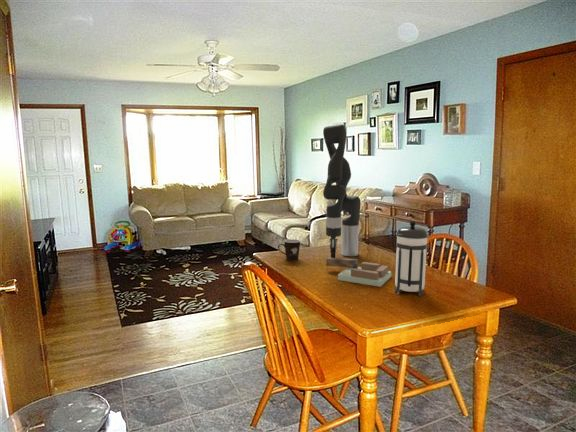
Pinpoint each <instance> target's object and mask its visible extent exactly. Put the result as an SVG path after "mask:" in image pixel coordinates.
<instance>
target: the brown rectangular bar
mask: <svg viewBox="0 0 576 432" xmlns="http://www.w3.org/2000/svg"><path fill="white" fill-rule="evenodd" d="M325 265H326V266H327V267H338V268H339V267H341V268H348V267H352V268H357V267H359V259H358V258H344V257H335V258H331V256H329V257H326V260H325Z"/></svg>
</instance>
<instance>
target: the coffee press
mask: <svg viewBox="0 0 576 432" xmlns="http://www.w3.org/2000/svg"><path fill="white" fill-rule="evenodd" d="M409 225H410V226H409ZM409 225H408V226H401V227H400V228H399V229H397V231H396V233H395V235H396V244H395V247H396V253H395V254H396V255H395V256H396V257H395V274H394V275H395V276H394V277H395V278H394V279H395V281H394V285H395V286H394V287H396V288H395V290H394V294H396V295H399V294H401V293H402V291H403V292H409V293H412V292H413V293H414V292H415V293H417V295H418V296H419V297H423V296H424V294H425V293H424V291H423V290H424V289H425V286H426V285H425V284H426V283H425V282H426V269H427V252H428V251H427V250H428V238H429V234H428V231H427V230H426V229H425V228H423V227H419V226H416V222H415V221H413V220H412V221H410V222H409Z"/></svg>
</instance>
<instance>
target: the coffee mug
mask: <svg viewBox="0 0 576 432" xmlns="http://www.w3.org/2000/svg"><path fill="white" fill-rule="evenodd" d="M281 246H283V247H284V250H285V252H283V251H282V250H281V249H280V247H281ZM300 247H301V240H300V239H293V238H289V239H285V240H284V243H280V244H279V245H278V246H277V250H278V251H279V252H280V253H282V254H284V256H285V259H286V260H287V261H290V262H291V261H298V260H299V254H300Z"/></svg>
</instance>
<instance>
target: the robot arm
mask: <svg viewBox="0 0 576 432" xmlns="http://www.w3.org/2000/svg"><path fill="white" fill-rule="evenodd" d="M322 132H323V134H322V135H323V139H324V143H325V146H326V149H327V151H328V156H329V158H330V159H329V162H328V164H327V165H328V166H327V178H326V181H325V182H326V183H325V185H324V188H323V191H322V195H323V197H324V199H325V200H329V201H330V200H331V201H332V200H333V201H336V202H335V203H332V204H331V203H330V204H328V205H327V206H326V219H325V235H326V236H327V237H329V241H328V243H329V249H330V250H329V251H330V257H331V258H336V253H337V248H338V240H339V239H338V238H337V237H341V246H340V247H341V248H340V249H341V253H340V254H341V256H344V257H356V256H358V254H359V227H360V226H359V222H360V219H361V218H360V216H361V199H360V197H359V196H357V195H348V194H347V187H348V184H349V182H350V180H351V178H352V171H351V167H350V163H349V161H348V160H347V159H346V158H345V156H344V155H345V149H346V143H347V128H346V126H345V125H344V124H335V125H327V126H324V127H323V131H322ZM336 144H338V145H337V148H336ZM334 183H335V184H334ZM342 212H344V213H350V216H349V217H345V218H343V219H342Z"/></svg>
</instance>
